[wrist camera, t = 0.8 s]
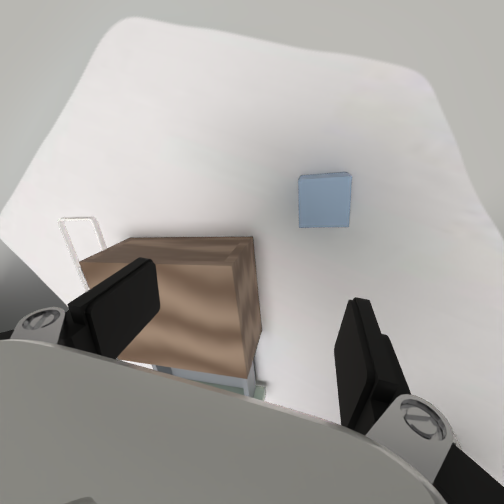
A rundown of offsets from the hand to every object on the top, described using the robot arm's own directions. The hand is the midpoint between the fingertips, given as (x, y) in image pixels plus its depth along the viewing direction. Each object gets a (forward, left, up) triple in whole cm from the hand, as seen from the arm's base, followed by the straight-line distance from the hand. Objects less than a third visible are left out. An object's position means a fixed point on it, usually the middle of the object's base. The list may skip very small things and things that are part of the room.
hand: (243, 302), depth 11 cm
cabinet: (-12, +15, -20) cm, 28 cm away
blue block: (+1, -4, -21) cm, 21 cm away
